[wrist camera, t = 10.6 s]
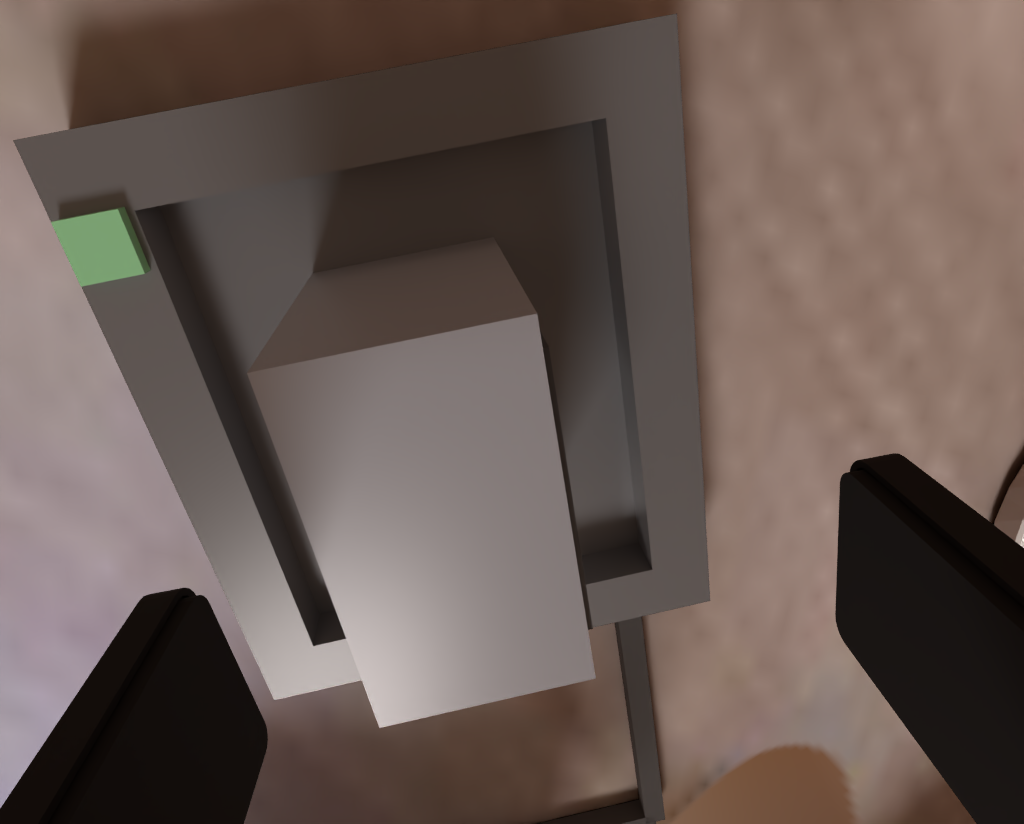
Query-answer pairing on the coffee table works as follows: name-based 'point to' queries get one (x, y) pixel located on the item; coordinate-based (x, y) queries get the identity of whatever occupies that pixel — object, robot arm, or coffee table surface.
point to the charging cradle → (394, 232)
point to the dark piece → (633, 737)
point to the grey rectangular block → (432, 477)
